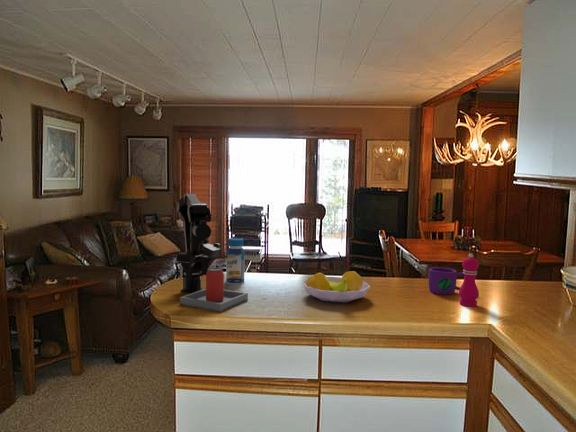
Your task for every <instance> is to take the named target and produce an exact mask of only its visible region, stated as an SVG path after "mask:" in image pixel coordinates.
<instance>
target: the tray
mask: <svg viewBox="0 0 576 432" xmlns="http://www.w3.org/2000/svg"><path fill="white" fill-rule="evenodd" d="M248 300H249V294H248V292H241V291H235V290H228V289H224V299H223V300H222V301H221V302H210V301H206V288H202V290H200V291H197V292H194V293H189V294H185V295H183V296H180V297H179V305H181V306H187V307H192V308H197V309H203V310H209V311H214V312H219V313H221V312H224V311H226V310H229V309H231V308H234V307H235V306H237V305H241V304H242V303H245V302H247V301H248Z"/></svg>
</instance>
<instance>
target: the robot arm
mask: <svg viewBox="0 0 576 432" xmlns="http://www.w3.org/2000/svg"><path fill="white" fill-rule="evenodd" d="M176 211H177V213H178V218H179V219H180V221H182V224H183V236H184V245H185V248H184V249H185V251H184V252H183V251H182V252H179V253H177V254H176V255H175V257H176V258H175V259H176V260H175V261H176V262H178V263H179V264H180V268H179V270H180V271H179V272H180V276H181V278H183V279H182V288H181V289H180V292H184V293H185V292H186V293H189V294H191V293H194V292H197V291H200V290H203V288H201V287H202V286H201V285H202V283H201V277H203V276H206V273H207V271H208V270H207V269H209V268H210V266H211V263H212V262H213V261H214V260H215V259H217V258H218V256H219V253H221V244H220V243H217V242H216V243H214V244H210V242H209V238H210V237H211V236H212V229H211V227H210V225H208V223H211V221H212V218H213V217H212V214H211V209H210V207H209V206H208V204H207V203H206V202H201V201H200V199H198V195H197V194H195V193H185V194H184V195H183V197H181V198H180V199H178V201H177V204H176Z"/></svg>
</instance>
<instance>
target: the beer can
mask: <svg viewBox="0 0 576 432" xmlns="http://www.w3.org/2000/svg"><path fill="white" fill-rule="evenodd" d="M207 270H208V271H207V273H206V275H205V289H206V301H210V302H221V301H222V300H223V299H224V290H225V288H224V286H225V284H224V283H225V278H224V277H225V274H224V271H223V268H221V267H209V269H207Z"/></svg>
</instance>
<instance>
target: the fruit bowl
mask: <svg viewBox="0 0 576 432" xmlns="http://www.w3.org/2000/svg"><path fill="white" fill-rule="evenodd" d="M301 282H302V284H303V287H304V289H305V292H306V294H309V295H310V296H312V297H314V298H317V299H318V300H320V301H323V302H328V301H329V302H331V303H341V302H342V303H343V304H345V303H349V302H351V301H355V300H357V299H361V298H364V297H365V295H366V294H367V292H368V291H369V289H370V288H371V286H370V285H369V284H368V283H367V282H366V281H365V280H364V281H363V277H362V276H361V275H360V274H358V273H357V272H356V271H353V270H352V271H351V270H350V271H346V272H344V274H342V275H341V277H339V276H327V275H325V274H324V273H322V272H317V273H315V274H313V275H311V276H308V278H307V279H306V280H303V281H301Z"/></svg>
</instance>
